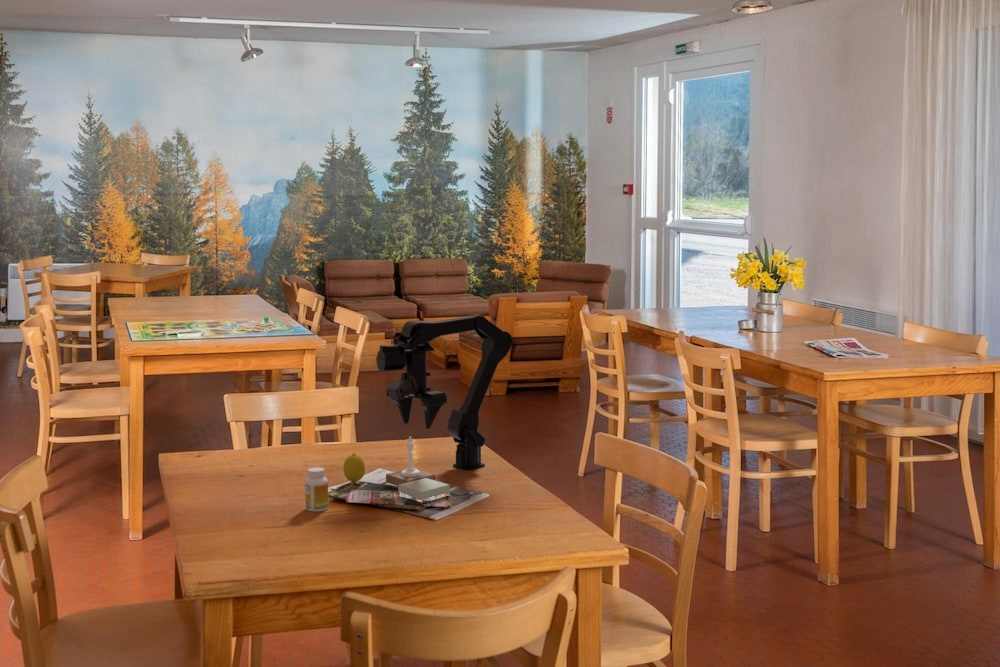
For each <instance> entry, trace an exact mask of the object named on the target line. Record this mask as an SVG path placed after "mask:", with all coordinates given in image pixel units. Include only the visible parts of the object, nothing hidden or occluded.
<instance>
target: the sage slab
mask: <svg viewBox="0 0 1000 667" xmlns="http://www.w3.org/2000/svg"><path fill="white" fill-rule="evenodd" d="M450 488H451V487H450V484H448V483H444V482H441V481H438V480H436V479H435V480H431V479H428V478H424V479H420V480H416V481H412V482H407V483H403V484H399V485H398V489H397V490H398V492H401V493H404V494H407V495H409V496H412V497H415V498H417V499H420V500H423V499H427V498H429V497H432V496H438V495H441V494H445V493H447V494H450ZM450 495H451V494H450Z"/></svg>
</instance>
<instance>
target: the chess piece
mask: <svg viewBox="0 0 1000 667" xmlns="http://www.w3.org/2000/svg"><path fill="white" fill-rule="evenodd" d="M414 439H415V438H412V435H411V436H410V435H409V438H406V442H407V443H406V447H407V452H406V453H405V454H407V455H408V457H407V458H408V459H407V465H406V466H407V467H406V469H402V470H401V471H402V472H401V473H402V474H401V475H402V476H405V477H415V476H419V475H420V471H419V470H420V469H418V470H417V468H416V467H415V466H414V459H413V458H414V457H413V455H415V454H416V453H415V452H414V451H413V450H414V446H415V443H414V442H412V441H414Z"/></svg>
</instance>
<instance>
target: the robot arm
mask: <svg viewBox="0 0 1000 667" xmlns="http://www.w3.org/2000/svg"><path fill="white" fill-rule="evenodd" d="M472 331H474V333H476V335H477V336H478V338H480V339H482V342H481V343H482V344H481V348H480V349H481V358H480V361H479V363H478V366H477V369H476V371H475V374H474V376H473V378H472V381H471V384H470V385H469V388H468V391H467V394H466V395H465V396H466V397H465V398H464V401H463V403H462V405H461V406H460V407H459V409H455V408H453V409H452V411H451V413H450V416H449V419H448V420H447V421H446V423H447V432H448V433H449V434H448V435H450V436H451V437H452V439H453V442H454V443H457V444H456V451H455V463H452V466H453V467H456V468H460V469H463V470H466V471H467V470H468V471H469V470H473V469H476V468H481V467H485V466H486V463H482V447H484V444H485V441H486V439H485V437H484V436H483V435H482V434H480V433H479V432H478V430H479V425H480V417H479V416H480V415H479V412H480V409H481V407H482V405H483V402H484V400H485V397H486V396H487V392H488V389H489V387H490V384H491V382H492V379H493V377H494V375H495V372H496V371H497V367H498V365H499V363H500V362H502V361H503V360H504V358H506V356H508V353H509V352H510V350H511V348H512V347H513V342H514V339H513V337H512V335H511V333H510V332H508V331H505V330H502V329H501V328H499V327H498V326H496V325H495V324H494V323H492V322H490V320H488V319H487V318H486V317H485V316H484V315H481V314H476V313H473V314H471V315H466V316H465V315H464V316H459V317H453V318H449V319H447V318H446V319H442V320H437V321H433V320H432V321H429V320H428V321H427V320H409V321H406V322H405V323H404V325H402V328H401V333H400V334H399V335H398V337H397V339H396V340H395V342H394V343H393V345H385V344H383V345H382V344H381V345H379V350H378V352H377V356H376V358H375V361H376V366H377V369H378V371H380V372H392V371H402V370H403V369H405V371H402V372H401V376H400V377H401V378H400V379H399V380H396V381H394V382H393V383H391V384H390V385H388V386H387V387H386V397H388V398H389V399H390V401H392V402H394V403H395V404H396V406H397V408H398V411H399V413H400V415H401V419H402V422H403V424H404V425H407V424H408V423H409V420H410V416H411V411H412V410H411V409H412V404H413V400H414V399H413V398H415V399H420V402H421V403H422V404H420V406H421V408H422V409H423V410H424V424H425V429H426V430H430V429H431V428H432V425H433V422H434V421H435V419H436V416H437V414H438V413H439V411H440V409H441V407H442V406H444V405H445V404H447V403H448V394H446V392H444V391H440V390H432V391H431V386H428V377H431V372H430V371H428V361H427V360H428V358H427V357H428V353H427V352H434V351H435V348H434V347H433V346H432V345H431V344H430V343H429V342H432V341H434V340H435V339H437V338H439V337H441V336H442V337H443V336H447V335H453V334H460V333H461V334H462V333H465V332H472Z"/></svg>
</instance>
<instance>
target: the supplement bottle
mask: <svg viewBox="0 0 1000 667" xmlns="http://www.w3.org/2000/svg"><path fill="white" fill-rule="evenodd" d="M325 472H326V470H325V468H323V467H311V468H308V469H307V476H308V477H307V478H306V479H305V481H304V482H305V484H304V487H305V488H304V490H305V509H306V511H308V512H311V513H312V512H314V513H315V512H316V513H317V512H324V511H326V510H328V509H329V480H328V478H327V477H326V476H325V474H326V473H325Z"/></svg>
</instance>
